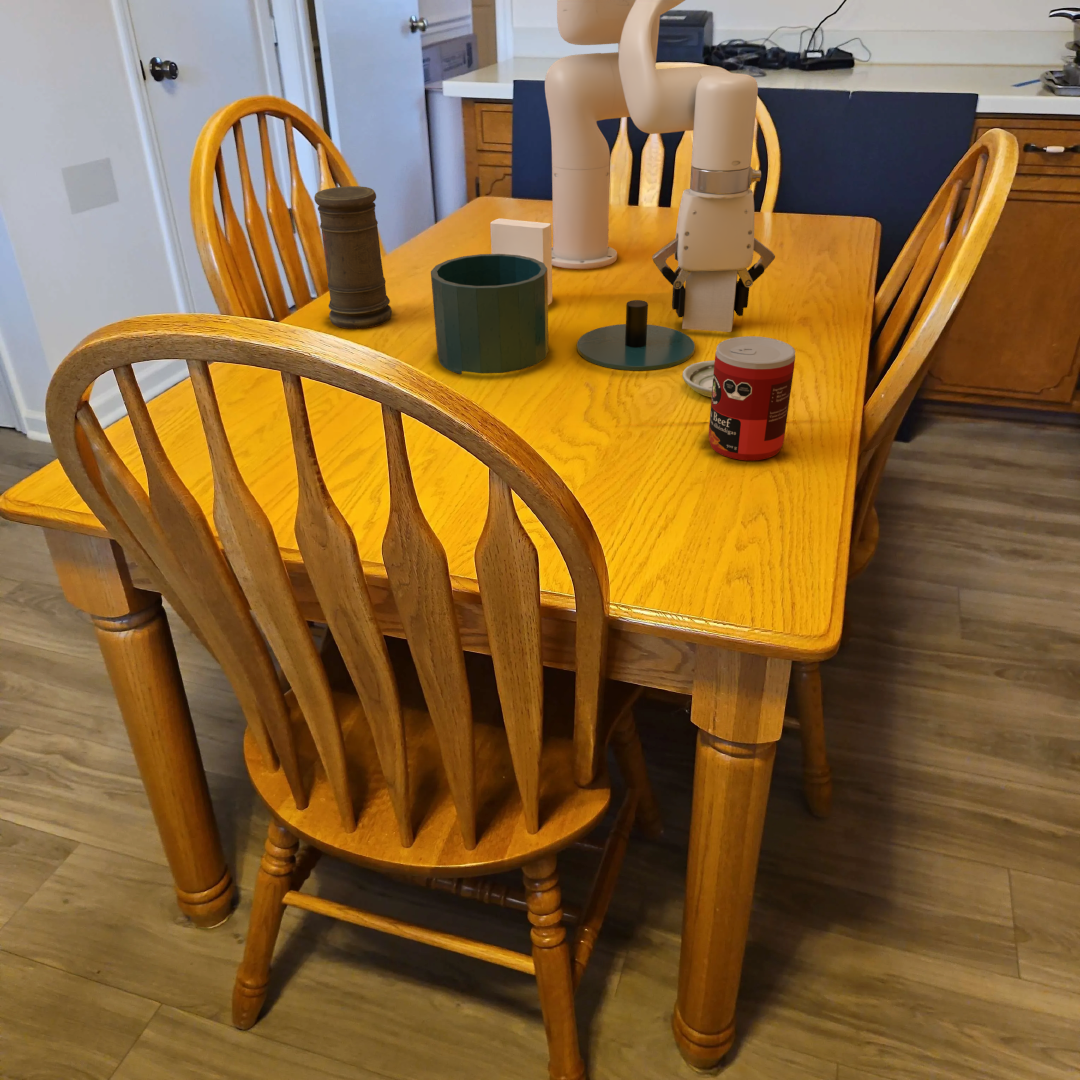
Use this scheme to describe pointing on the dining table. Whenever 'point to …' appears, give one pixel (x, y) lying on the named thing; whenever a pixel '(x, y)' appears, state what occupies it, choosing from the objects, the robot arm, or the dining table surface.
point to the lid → (636, 343)
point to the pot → (490, 313)
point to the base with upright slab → (524, 242)
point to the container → (353, 257)
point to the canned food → (750, 397)
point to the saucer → (700, 377)
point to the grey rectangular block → (710, 300)
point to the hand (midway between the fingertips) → (708, 312)
